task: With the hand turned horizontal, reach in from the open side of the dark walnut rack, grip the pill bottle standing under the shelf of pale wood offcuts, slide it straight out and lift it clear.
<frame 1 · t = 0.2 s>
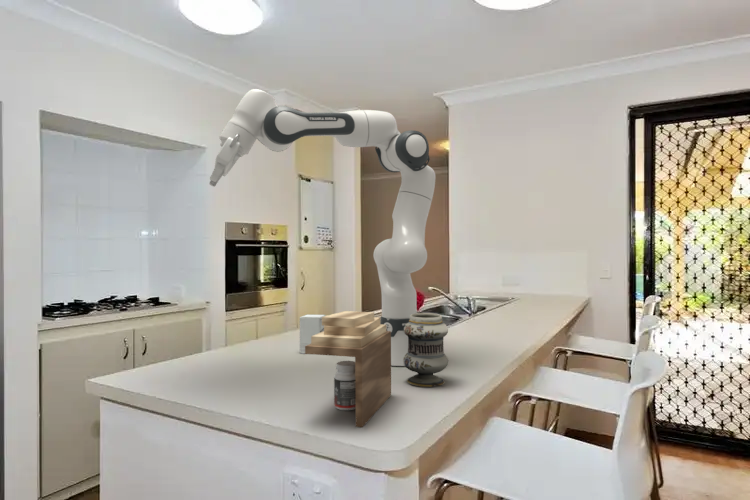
hand: (212, 183, 133), 54 cm above the counter, tool tilted 30°, fingers open, 8 cm apart
apothecary jar: (425, 382, 129), on the counter
offcut stack: (351, 326, 108), on the walnut rack, point 18 cm above the counter
pill bottle: (346, 407, 109), on the counter
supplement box: (312, 352, 167), on the counter
walnut rack: (346, 406, 109), on the counter
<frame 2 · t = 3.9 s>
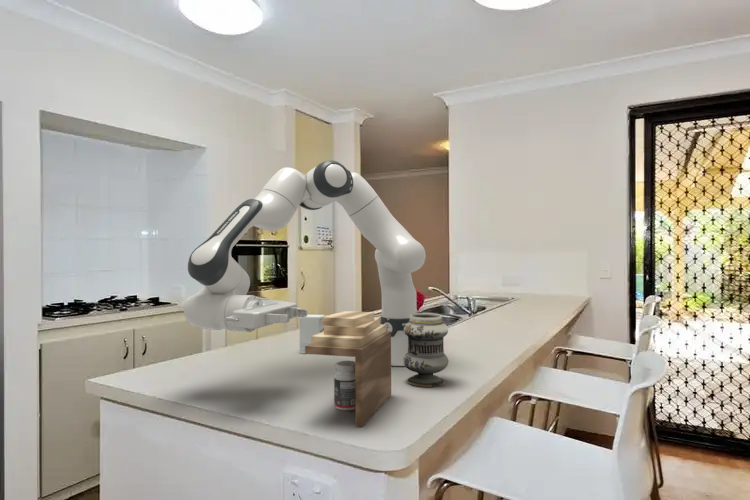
hand: (297, 315, 112), 20 cm above the counter, tool horizontal, fingers open, 8 cm apart
nothing on the counter moved.
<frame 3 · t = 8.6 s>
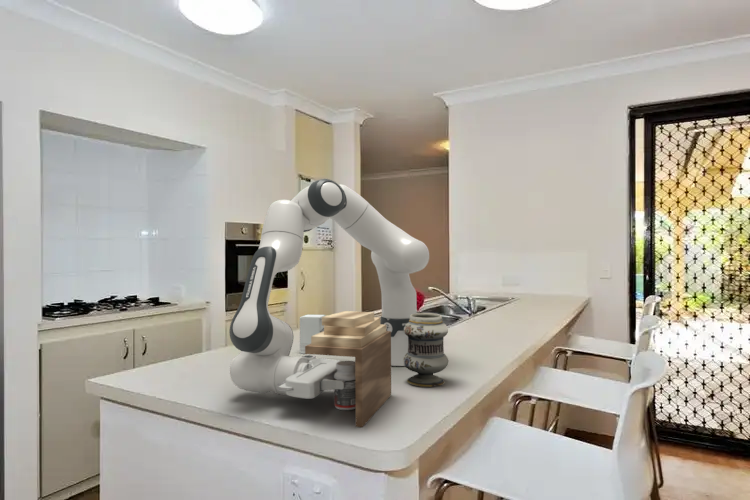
hand: (350, 380, 109), 6 cm above the counter, tool horizontal, fingers closed on pill bottle, 6 cm apart
pill bottle: (346, 407, 109), on the counter, touching gripper
everything else where it was.
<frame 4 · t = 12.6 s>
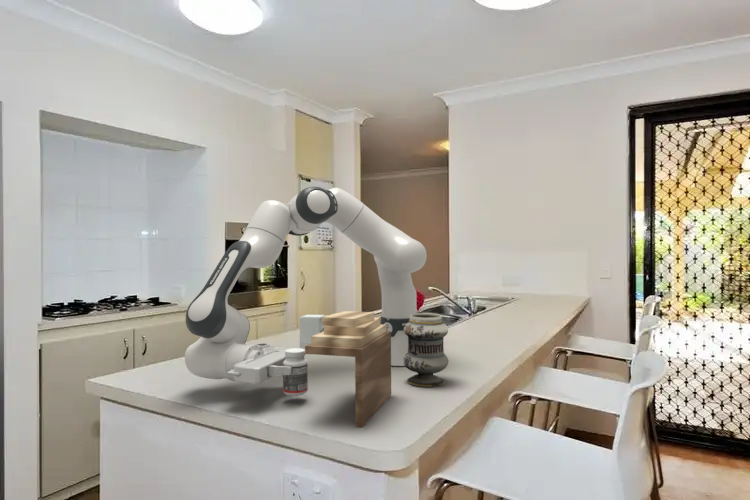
hand: (298, 366, 112), 8 cm above the counter, tool horizontal, fingers closed on pill bottle, 6 cm apart
pill bottle: (295, 393, 113), point 2 cm above the counter, touching gripper
everything else where it was.
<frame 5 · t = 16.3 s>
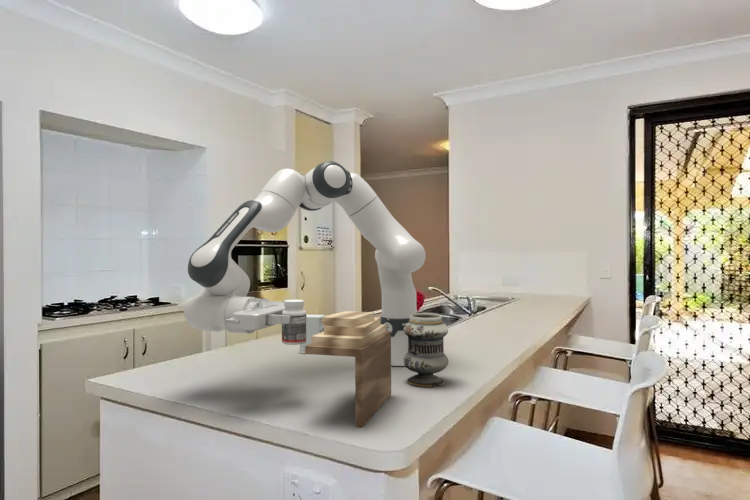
hand: (297, 317, 112), 20 cm above the counter, tool horizontal, fingers closed on pill bottle, 6 cm apart
pill bottle: (294, 343, 113), point 14 cm above the counter, touching gripper
everything else where it was.
at the end: the gripper is holding pill bottle; pill bottle inside the target area (0.2 cm from its centre), point 13.6 cm above the counter; pill bottle tilted 0° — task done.
